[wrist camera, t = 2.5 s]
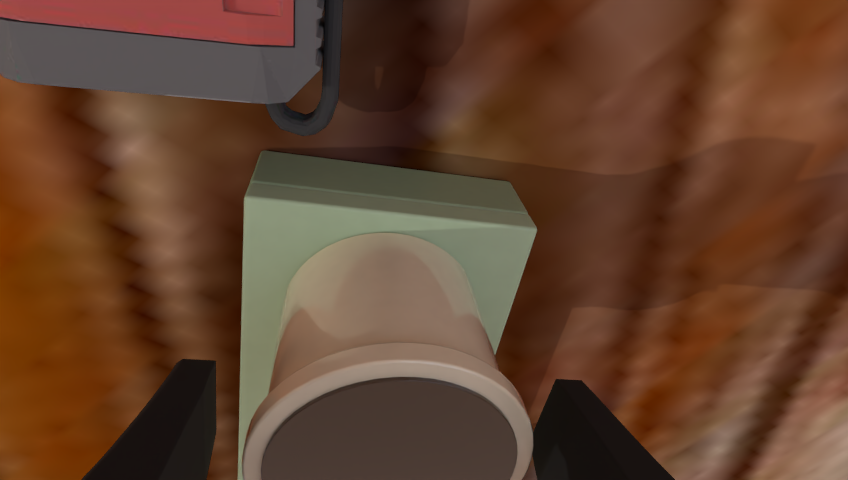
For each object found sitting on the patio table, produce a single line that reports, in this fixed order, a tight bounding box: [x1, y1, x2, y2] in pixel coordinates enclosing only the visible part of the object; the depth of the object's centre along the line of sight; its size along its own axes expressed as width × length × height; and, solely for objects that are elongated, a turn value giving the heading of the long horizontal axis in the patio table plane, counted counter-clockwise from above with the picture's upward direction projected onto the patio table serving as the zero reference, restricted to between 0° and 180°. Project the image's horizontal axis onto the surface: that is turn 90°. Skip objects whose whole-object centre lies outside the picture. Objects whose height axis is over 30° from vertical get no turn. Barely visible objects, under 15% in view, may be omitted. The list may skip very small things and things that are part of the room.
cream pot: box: [242, 232, 534, 480], centre depth 12 cm, size 6×6×5 cm
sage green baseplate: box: [238, 151, 537, 480], centre depth 18 cm, size 7×17×3 cm, turn 169°
